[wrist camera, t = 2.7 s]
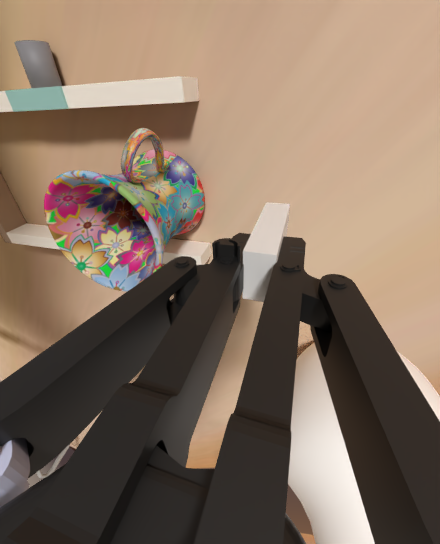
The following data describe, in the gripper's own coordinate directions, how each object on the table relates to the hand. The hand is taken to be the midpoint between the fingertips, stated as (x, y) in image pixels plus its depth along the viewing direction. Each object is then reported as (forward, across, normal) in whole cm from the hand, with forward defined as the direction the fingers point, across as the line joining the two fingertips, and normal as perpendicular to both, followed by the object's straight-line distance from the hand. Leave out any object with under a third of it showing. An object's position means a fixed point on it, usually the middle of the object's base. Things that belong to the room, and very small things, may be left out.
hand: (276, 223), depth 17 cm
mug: (+8, -11, 0) cm, 13 cm away
